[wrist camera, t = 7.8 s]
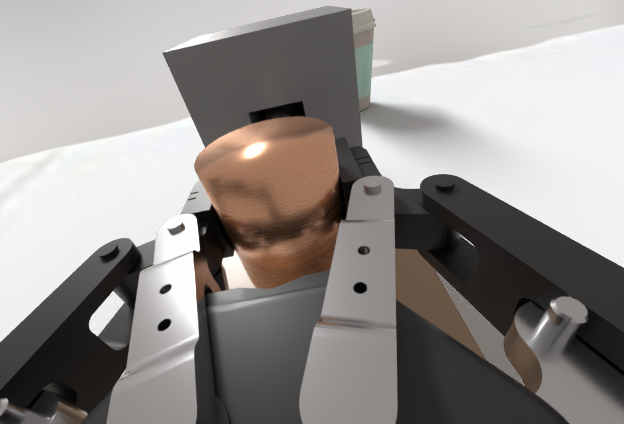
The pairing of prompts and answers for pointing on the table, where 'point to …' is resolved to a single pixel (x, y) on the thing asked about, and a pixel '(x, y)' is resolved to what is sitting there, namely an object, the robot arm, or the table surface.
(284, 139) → the plunger
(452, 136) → the table surface
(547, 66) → the table surface
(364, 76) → the coffee cup
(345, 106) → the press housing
